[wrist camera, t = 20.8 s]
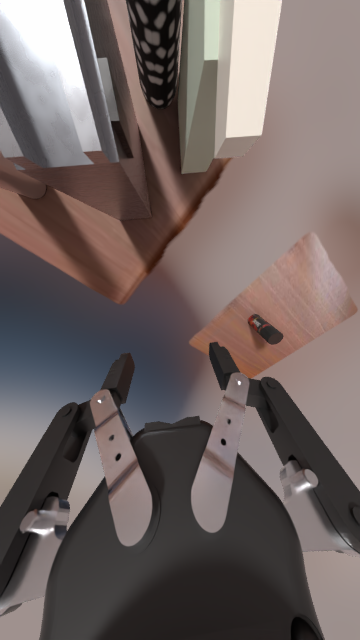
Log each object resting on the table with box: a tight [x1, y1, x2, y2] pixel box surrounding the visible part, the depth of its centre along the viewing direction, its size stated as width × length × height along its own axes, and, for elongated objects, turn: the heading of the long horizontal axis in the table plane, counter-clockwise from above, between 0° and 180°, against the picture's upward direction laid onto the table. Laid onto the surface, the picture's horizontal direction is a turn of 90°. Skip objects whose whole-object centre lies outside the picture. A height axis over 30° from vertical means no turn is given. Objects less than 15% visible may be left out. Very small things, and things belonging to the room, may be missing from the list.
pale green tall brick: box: [178, 0, 220, 174], centre depth 22 cm, size 7×12×26 cm, turn 5°
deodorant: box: [248, 314, 283, 345], centre depth 57 cm, size 6×6×15 cm
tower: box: [0, 0, 152, 221], centre depth 21 cm, size 11×18×34 cm, turn 5°
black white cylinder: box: [126, 0, 182, 109], centre depth 20 cm, size 8×8×20 cm
